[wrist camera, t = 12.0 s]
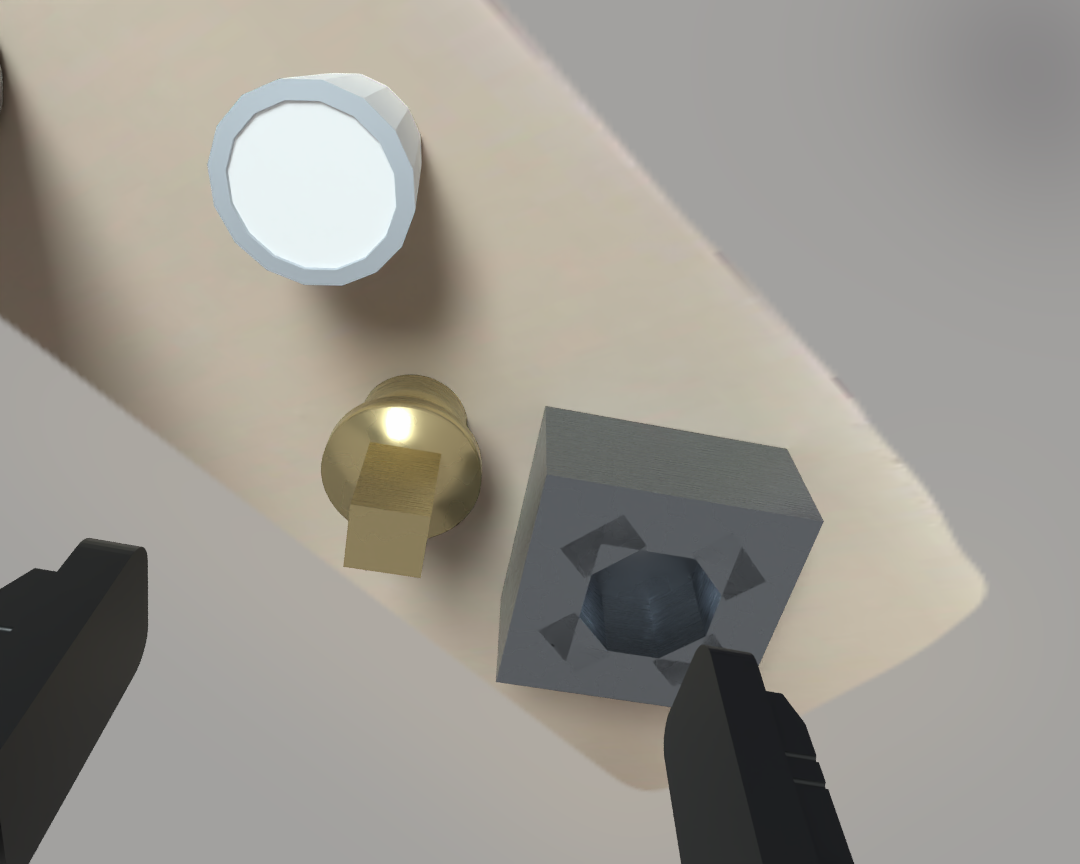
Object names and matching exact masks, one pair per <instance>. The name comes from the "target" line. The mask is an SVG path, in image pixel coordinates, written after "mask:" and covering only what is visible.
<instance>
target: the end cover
mask: <svg viewBox="0 0 1080 864" xmlns="http://www.w3.org/2000/svg"><path fill="white" fill-rule="evenodd" d="M321 475H322V482H323V485H324V488H325V491H326V493H327V495H328V497H329V499H330V501H331V502H332V504H333V505H334V507H335V508H336V509H337V510H338V511H339V513H340V514H341V515H342V516H344V517H345V518H346V519H347V520H348V530H347V539H346V548H345V557H344V566H343V567H349V568H356V569H363V570H370V571H376V572H383V573H390V574H397V575H404V576H410V577H417V578H420V577H421V572H422V566H423V560H424V554H425V548H426V542H427V538H431V537H434V536H437V535H440V534H442V533H444V532H446V531H448V530H450V529H452V528H453V527H455V526H456V525H458V524H459V523H460V522H461V521H462V520H463V519H464V518H465V517H466V516H467V515H468V514H469V513H470V511H471V510H472V508H473V507H474V505H475V503H476V501H477V498H478V495H479V492H480V486H481V476H482V459H481V453H480V450H479V447H478V444H477V442H476V440H475V438H474V436H473V434H472V433H471V432H470V430H469V429H468V427H467V418H466V413H465V410H464V407H463V405H462V403H461V401H460V400H459V399H458V397H457V396H456V395H455V394H454V392H453V391H452V390H450V389H449V388H448V387H447V386H445V385H444V384H442V383H440V382H438V381H436V380H434V379H431V378H429V377H425V376H420V375H402V376H397V377H393V378H390V379H388V380H386V381H384V382H382V383H381V384H379V385H378V386H376V387H375V388H374V389H373V390H372V391H371V393H370V394H369V395H368V397H367V399H366V400H365V403H363V404H361V405H359V406H357V407H355V408H354V409H352V410H351V411H350V412H348V413H347V414H346V415H345V416H344V417H343V418H342V419H341V420H340V421H339V422H338V424H337V425H336V426H335V428H334V429H333V431H332V433H331V435H330V438H329V440H328V443H327V445H326V448H325V451H324V454H323V457H322V463H321Z"/></svg>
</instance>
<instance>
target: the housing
mask: <svg viewBox="0 0 1080 864" xmlns="http://www.w3.org/2000/svg"><path fill="white" fill-rule="evenodd" d="M823 522H824V521H823V519H822V517H821V515H820V513H819V511H818V509H817V507H816V505H815V503H814V501H813V500H812V498H811V496H810V494H809V492H808V490H807V488H806V486H805V484H804V482H803V480H802V478H801V476H800V474H799V472H798V470H797V468H796V466H795V464H794V462H793V460H792V458H791V456H790V454H789V452H788V450H787V449H783V448H777V447H772V446H766V445H761V444H755V443H749V442H744V441H738V440H733V439H727V438H721V437H716V436H710V435H704V434H699V433H693V432H688V431H682V430H676V429H671V428H665V427H660V426H654V425H648V424H643V423H637V422H632V421H626V420H620V419H615V418H609V417H604V416H598V415H592V414H587V413H581V412H575V411H570V410H564V409H559V408H553V407H547V406H545V411H544V415H543V419H542V424H541V428H540V432H539V437H538V441H537V445H536V449H535V454H534V458H533V462H532V467H531V471H530V475H529V480H528V484H527V488H526V493H525V497H524V501H523V506H522V510H521V514H520V518H519V523H518V527H517V531H516V536H515V540H514V544H513V549H512V553H511V557H510V562H509V566H508V570H507V574H506V579H505V583H504V587H503V592H502V596H501V606H500V623H499V640H498V657H497V674H496V682H501V683H508V684H515V685H521V686H528V687H535V688H542V689H549V690H556V691H563V692H570V693H577V694H584V695H591V696H598V697H605V698H612V699H619V700H626V701H632V702H639V703H646V704H653V705H660V706H667V707H672V705H673V703H674V700H675V698H676V696H677V693H678V691H679V689H680V686H681V684H682V682H683V679H684V677H685V675H686V672H687V670H688V668H689V665H690V663H691V661H692V658H693V656H694V654H695V652H696V650H697V648H698V647H699V646H701V645H709V646H715V647H721V648H727V649H733V650H739V651H745V652H750V653H752V654H753V655H754V657H755V659H756V661H757V664H758V666H759V664H760V661H761V659H762V657H763V655H764V653H765V650H766V648H767V646H768V644H769V641H770V639H771V637H772V635H773V633H774V630H775V628H776V626H777V624H778V621H779V619H780V617H781V615H782V613H783V610H784V608H785V606H786V604H787V601H788V599H789V597H790V595H791V593H792V590H793V588H794V586H795V584H796V582H797V579H798V577H799V575H800V573H801V570H802V568H803V566H804V564H805V562H806V559H807V557H808V555H809V553H810V550H811V548H812V546H813V544H814V542H815V539H816V537H817V535H818V533H819V530H820V528H821V526H822V524H823Z"/></svg>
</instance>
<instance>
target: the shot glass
mask: <svg viewBox="0 0 1080 864" xmlns="http://www.w3.org/2000/svg"><path fill="white" fill-rule="evenodd" d="M421 165H422V155H421V135H420V132H419V130H418V128H417V125H416V123H415V121H414V119H413V116H412V114H411V112H410V109H409V107H408V106H407V105H406V104H405V103H404V102H403V101H402V100H401V99H400V98H399V97H398V96H397V95H396V94H395V93H394V92H393V91H392V90H391V89H390V88H389V87H388V86H386V85H384V84H382V83H380V82H378V81H376V80H373V79H371V78H369V77H367V76H365V75H362V74H350V73H328V74H318V75H309V76H299V77H290V78H280V79H277V80H275V81H273V82H271V83H268V84H266V85H264V86H261V87H259V88H257V89H255V90H252V91H250V92H248V93H246V94H243V95H242V96H241V97H240V98H239V99H238V101H237V102H236V103H235V104H234V106H233V107H232V108H231V109H230V110H229V112H228V113H227V114H226V115H225V117H224V118H223V119H222V120H221V121H220V123H219V124H218V125H217V127H216V132H215V136H214V140H213V144H212V148H211V152H210V156H209V161H208V171H209V177H210V183H211V189H212V195H213V202H214V206H215V208H216V210H217V212H218V213H219V215H220V217H221V219H222V220H223V222H224V224H225V226H226V227H227V229H228V231H229V233H230V234H231V236H232V238H233V239H234V241H235V243H236V244H238V245H239V246H240V247H241V248H242V249H243V250H244V251H246V252H247V253H248V254H249V255H250V256H251V257H253V258H254V259H255V260H256V261H257V262H258V263H259V264H261V265H262V266H263V267H264V268H265V269H266V270H268V271H271V272H273V273H276V274H278V275H281V276H283V277H286V278H288V279H291V280H293V281H296V282H298V283H301V284H303V285H337V286H343V285H345V284H348V283H350V282H353V281H355V280H358V279H361V278H363V277H366V276H368V275H371V274H374V273H376V272H377V271H378V270H379V269H380V268H381V267H382V266H383V265H384V264H385V263H386V262H387V261H388V260H389V259H390V258H391V257H392V256H393V255H394V254H395V253H396V252H397V251H398V250H399V249H400V248H401V247H402V245H403V243H404V240H405V237H406V234H407V232H408V229H409V226H410V224H411V221H412V218H413V216H414V213H415V209H416V202H417V194H418V187H419V180H420V173H421Z"/></svg>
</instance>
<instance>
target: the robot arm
mask: <svg viewBox="0 0 1080 864" xmlns="http://www.w3.org/2000/svg"><path fill="white" fill-rule="evenodd" d="M2 104H3V76H2V71H1V66H0V112H1V108H2ZM147 632H148V560H147V552H146V550H145V548H143V547H139V546H133V545H127V544H121V543H116V542H110V541H104V540H98V539H92V538H86V539H84V540H83V541H82V542H80V544H79V545H78V546H77V547H76V548H75V550H74V551H73V552H72V553H71V555H70V556H69V557H68V559H67V560H66V561H65V562H64V564H63V565H62V566H61V568H60V569H59V570H58V571H57V572H55V571H49V570H42V569H36V568H35V569H33V570H31V571H29V572H28V573H26V574H24V575H23V576H21V577H19V578H18V579H16V580H14V581H13V582H11V583H9V584H8V585H6V586H4V587H3V588H1V589H0V864H29V862H30V860H31V859H32V857H33V855H34V853H35V851H36V850H37V848H38V846H39V844H40V842H41V841H42V839H43V837H44V835H45V834H46V831H47V830H48V828H49V826H50V825H51V823H52V821H53V819H54V817H55V816H56V814H57V812H58V810H59V808H60V807H61V805H62V803H63V801H64V800H65V798H66V796H67V794H68V793H69V791H70V789H71V787H72V785H73V784H74V782H75V780H76V778H77V776H78V775H79V773H80V771H81V769H82V768H83V766H84V764H85V762H86V760H87V759H88V757H89V755H90V753H91V751H92V750H93V748H94V746H95V744H96V742H97V741H98V739H99V737H100V735H101V734H102V732H103V730H104V728H105V726H106V725H107V723H108V721H109V719H110V718H111V716H112V713H113V712H114V710H115V708H116V707H117V705H118V703H119V701H120V700H121V698H122V696H123V694H124V693H125V691H126V689H127V687H128V685H129V684H130V682H131V680H132V678H133V676H134V674H135V673H136V671H137V668H138V666H139V664H140V661H141V658H142V655H143V652H144V648H145V644H146V639H147ZM664 758H665V764H666V771H667V777H668V783H669V790H670V795H671V802H672V808H673V815H674V821H675V827H676V834H677V840H678V846H679V852H680V858H681V864H854V862H853V859H852V856H851V853H850V851H849V848H848V845H847V842H846V839H845V836H844V834H843V831H842V828H841V825H840V822H839V819H838V816H837V813H836V811H835V808H834V805H833V802H832V799H831V796H830V793H829V790H828V789H825V783H826V782H825V779H824V776H823V773H822V770H821V768H820V765H819V762H816V753H815V750H814V747H813V745H812V742H811V739H810V736H809V733H808V731H807V727H806V725H805V723H804V722H803V720H802V719H801V718H800V716H799V715H798V714H797V712H796V711H795V710H794V708H793V707H792V706H791V705H790V703H789V702H788V701H787V699H786V698H785V697H784V695H783V694H781V693H775V692H769V691H766V690H765V687H764V683H763V680H762V677H761V674H760V671H759V667H758V664H757V661H756V659H755V657H754V655H753V654H752V653H750V652H745V651H739V650H733V649H727V648H721V647H715V646H709V645H701V646H699V647H698V648H697V650H696V652H695V654H694V656H693V658H692V661H691V663H690V665H689V668H688V670H687V672H686V675H685V677H684V679H683V682H682V684H681V686H680V689H679V691H678V693H677V696H676V698H675V700H674V703H673V705H672V707H671V710H670V712H669V715H668V718H667V722H666V727H665V734H664Z"/></svg>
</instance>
